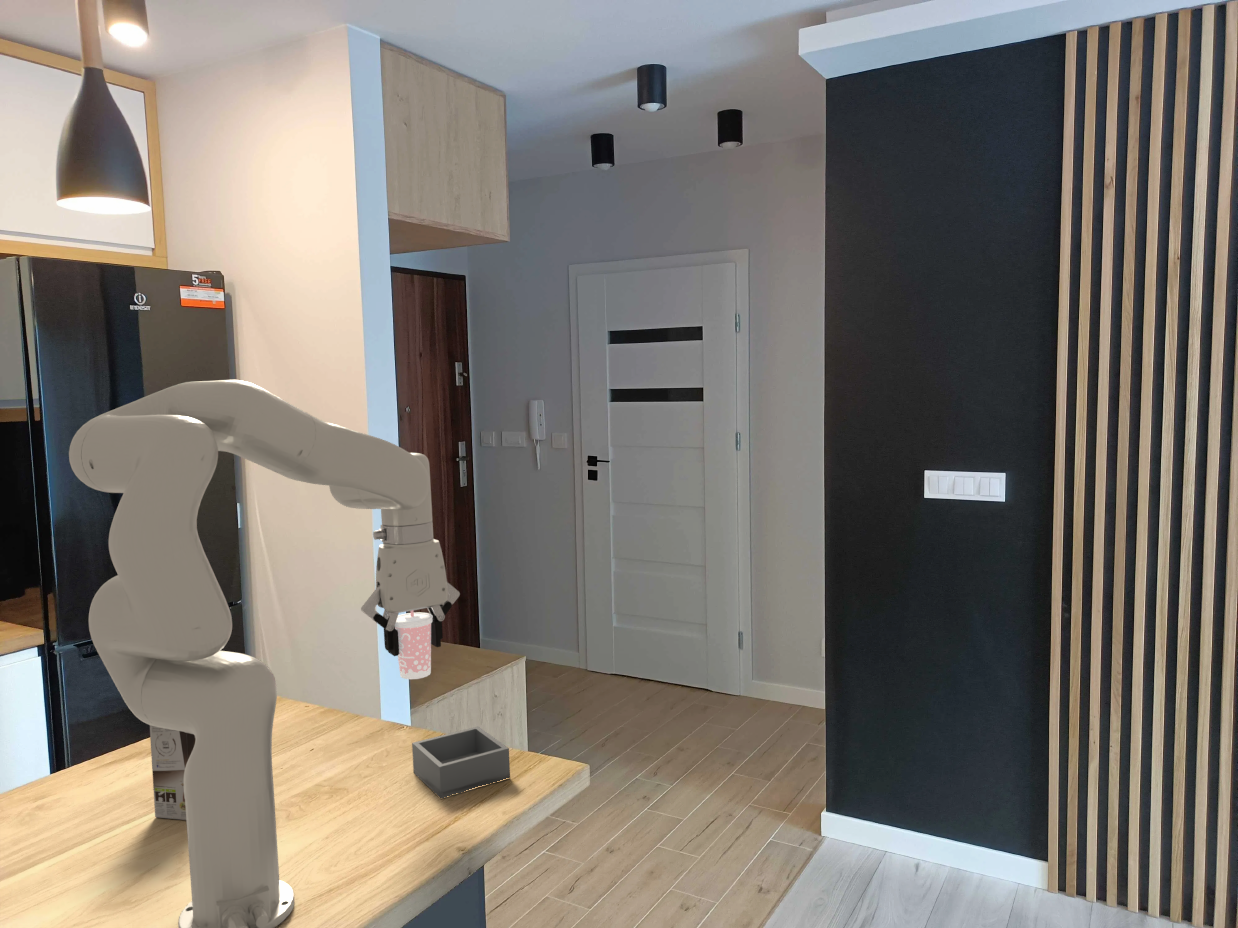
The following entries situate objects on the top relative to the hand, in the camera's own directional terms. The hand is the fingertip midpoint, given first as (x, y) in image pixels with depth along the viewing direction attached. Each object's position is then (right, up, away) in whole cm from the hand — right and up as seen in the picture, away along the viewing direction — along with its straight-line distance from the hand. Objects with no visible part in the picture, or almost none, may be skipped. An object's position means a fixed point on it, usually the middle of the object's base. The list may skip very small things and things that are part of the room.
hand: (414, 648), depth 136 cm
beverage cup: (0, -4, 0) cm, 4 cm away
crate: (+6, -21, +5) cm, 23 cm away
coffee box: (-33, -23, -3) cm, 40 cm away
